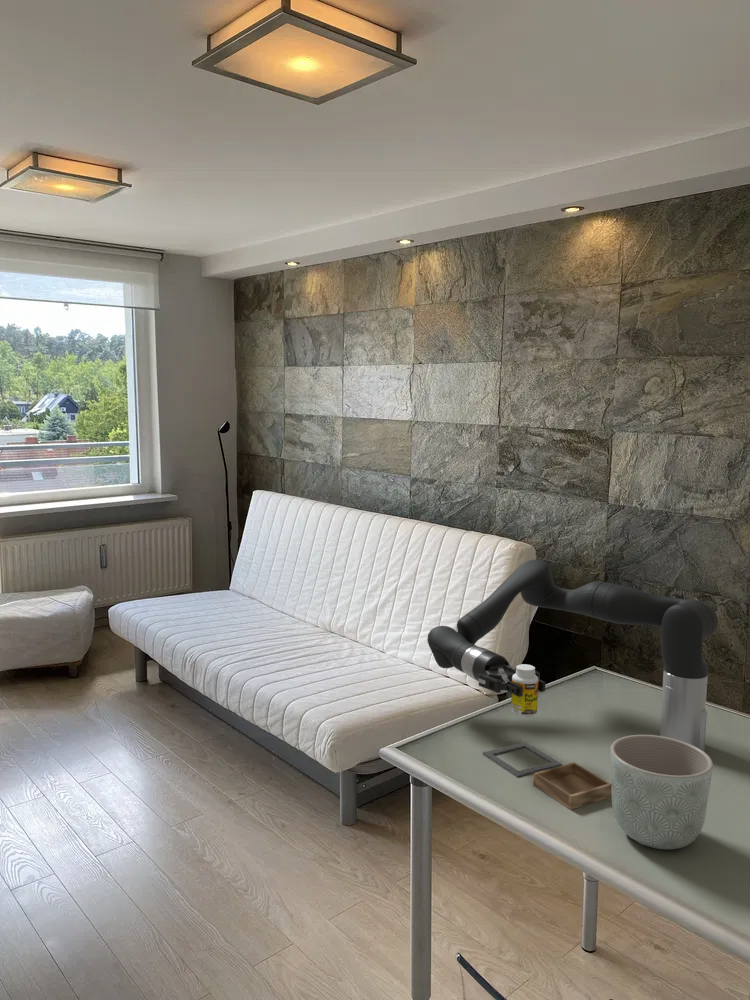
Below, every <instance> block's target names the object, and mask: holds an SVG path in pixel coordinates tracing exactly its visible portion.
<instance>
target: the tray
mask: <svg viewBox="0 0 750 1000" xmlns="http://www.w3.org/2000/svg"><path fill="white" fill-rule="evenodd" d="M532 779H533V781H532V782H533V783H532V785H533V787H535V788H536V789H538V790H539V791H541V792H542V793H544V794H546V795H547V796H548V797H550V798H551V799H553V800H555V801H556V802H558V803H559V804H561V805H562V806H564V807H566V808H567V809H568V810H574V809H577V808H581V807H585V806H586V805H590V804H594V803H597V802H600V801H604V800H606V799H610V798H612V792H611V782H609V781H607V780H605V779H604V778H602V777H600V776H598V775H597V774H595V773H593V772H591V771H589V770H588V769H586V768H584V767H582V766H581V765H579V764H578V763H576V762H570V763H567V764H562V765H561V766H557V767H554V768H550V769H546V770H543V771H539V772H535V773H533V778H532Z"/></svg>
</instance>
